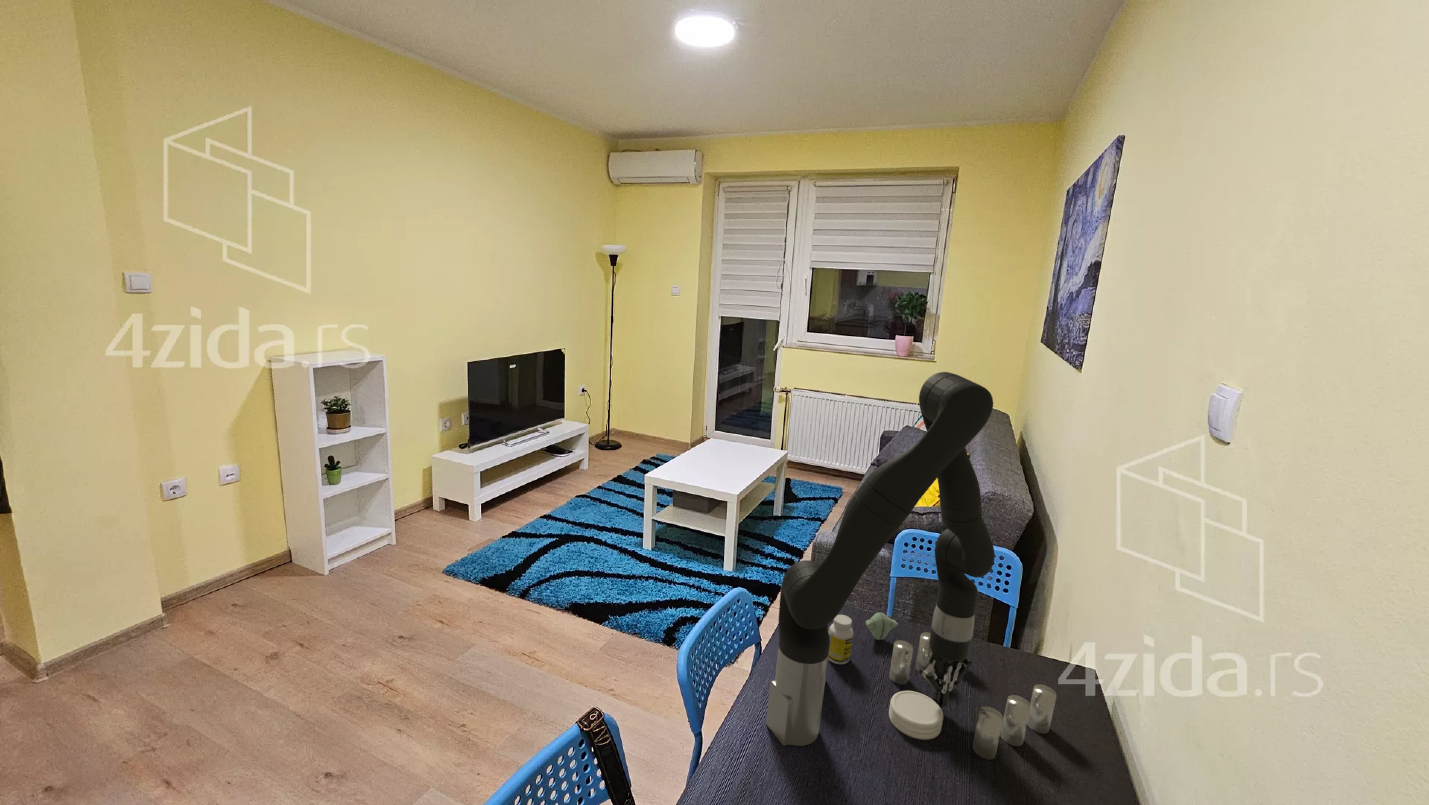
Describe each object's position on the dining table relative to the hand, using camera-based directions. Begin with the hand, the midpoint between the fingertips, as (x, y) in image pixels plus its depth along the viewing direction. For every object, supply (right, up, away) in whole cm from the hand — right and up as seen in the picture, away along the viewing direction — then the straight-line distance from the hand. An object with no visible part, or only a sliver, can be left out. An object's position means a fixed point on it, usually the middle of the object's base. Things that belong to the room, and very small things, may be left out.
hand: (940, 704), depth 121 cm
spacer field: (+7, -1, +4) cm, 8 cm away
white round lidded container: (-6, -2, -3) cm, 7 cm away
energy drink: (-25, +1, +7) cm, 26 cm away
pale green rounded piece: (-6, +4, +24) cm, 25 cm away
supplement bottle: (-18, +3, +15) cm, 24 cm away
